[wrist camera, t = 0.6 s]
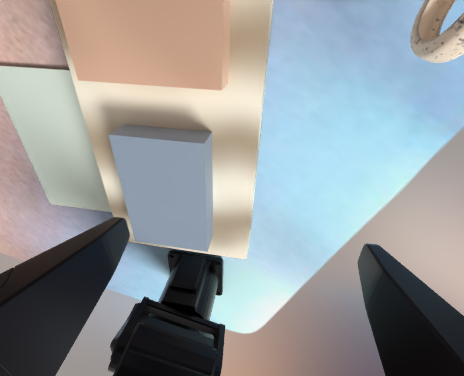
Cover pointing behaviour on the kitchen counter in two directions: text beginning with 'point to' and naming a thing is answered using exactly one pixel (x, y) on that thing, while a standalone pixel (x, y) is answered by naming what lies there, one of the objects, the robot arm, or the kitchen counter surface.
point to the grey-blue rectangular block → (166, 184)
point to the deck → (194, 123)
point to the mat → (54, 135)
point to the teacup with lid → (437, 33)
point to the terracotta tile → (149, 41)
